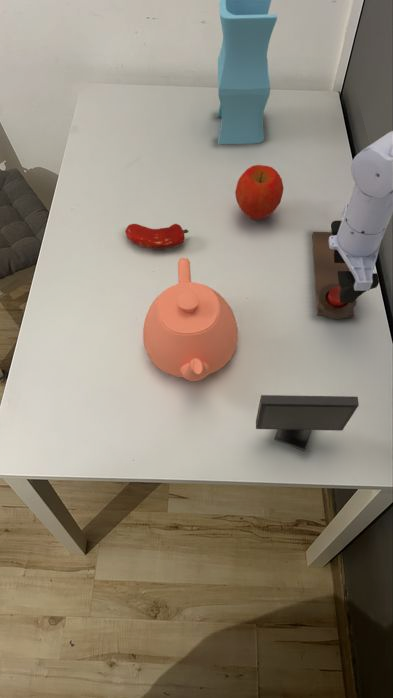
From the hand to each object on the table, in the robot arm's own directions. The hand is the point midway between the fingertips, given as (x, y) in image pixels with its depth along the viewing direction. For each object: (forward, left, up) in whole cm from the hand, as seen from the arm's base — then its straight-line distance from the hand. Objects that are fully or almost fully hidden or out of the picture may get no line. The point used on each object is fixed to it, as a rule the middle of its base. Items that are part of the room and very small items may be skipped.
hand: (343, 280), depth 78 cm
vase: (+31, -38, -8) cm, 50 cm away
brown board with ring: (+2, -7, -8) cm, 10 cm away
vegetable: (+34, -2, -8) cm, 35 cm away
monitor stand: (-1, +25, -8) cm, 26 cm away
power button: (0, 0, -5) cm, 5 cm away
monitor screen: (-1, +25, -3) cm, 25 cm away
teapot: (+19, +16, -8) cm, 26 cm away
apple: (+19, -15, -8) cm, 25 cm away
